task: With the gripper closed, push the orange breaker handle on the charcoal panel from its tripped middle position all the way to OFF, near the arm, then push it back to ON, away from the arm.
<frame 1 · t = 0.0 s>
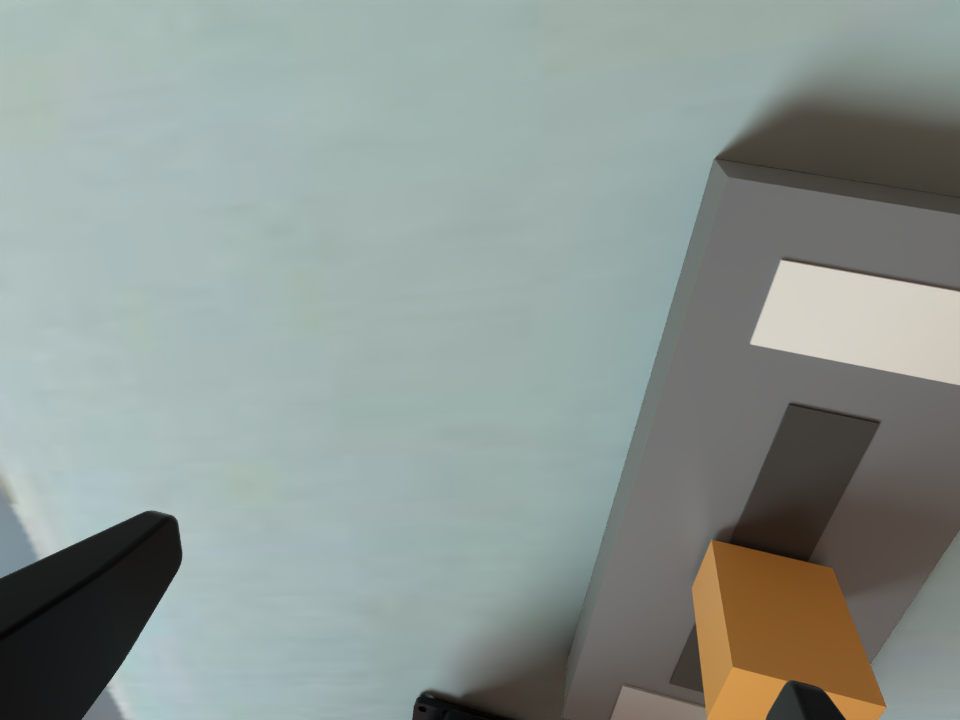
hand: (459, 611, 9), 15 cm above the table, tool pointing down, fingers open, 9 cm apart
breaker handle: (774, 638, 19), point 6 cm above the table, slide at 5.0 cm
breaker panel: (752, 496, 24), on the table
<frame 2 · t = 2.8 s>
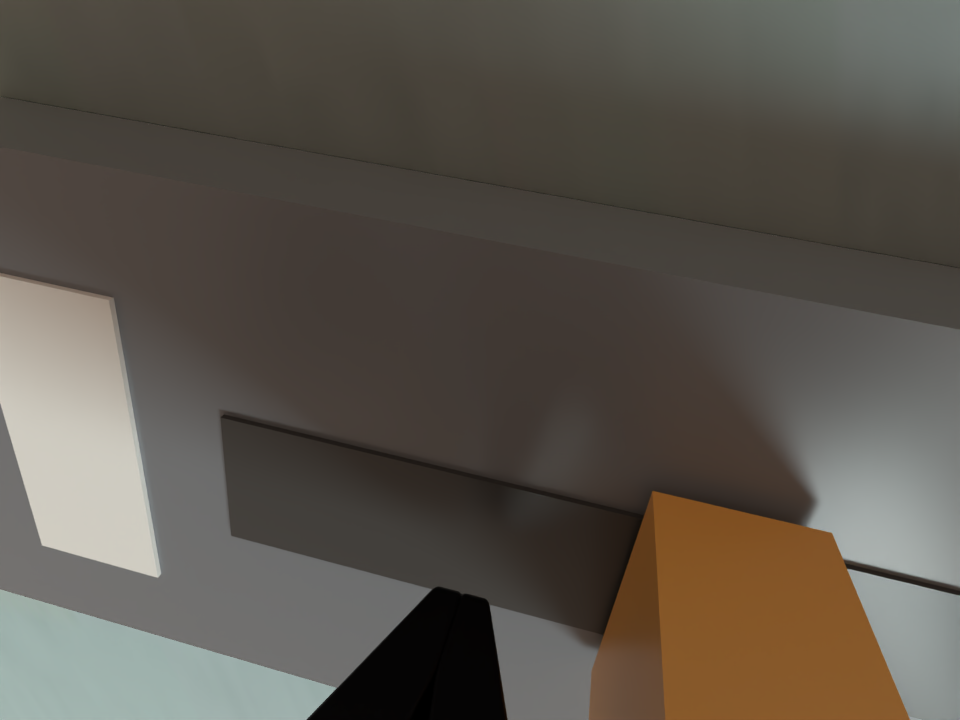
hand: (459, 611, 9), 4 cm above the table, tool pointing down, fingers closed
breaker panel: (574, 452, 13), on the table
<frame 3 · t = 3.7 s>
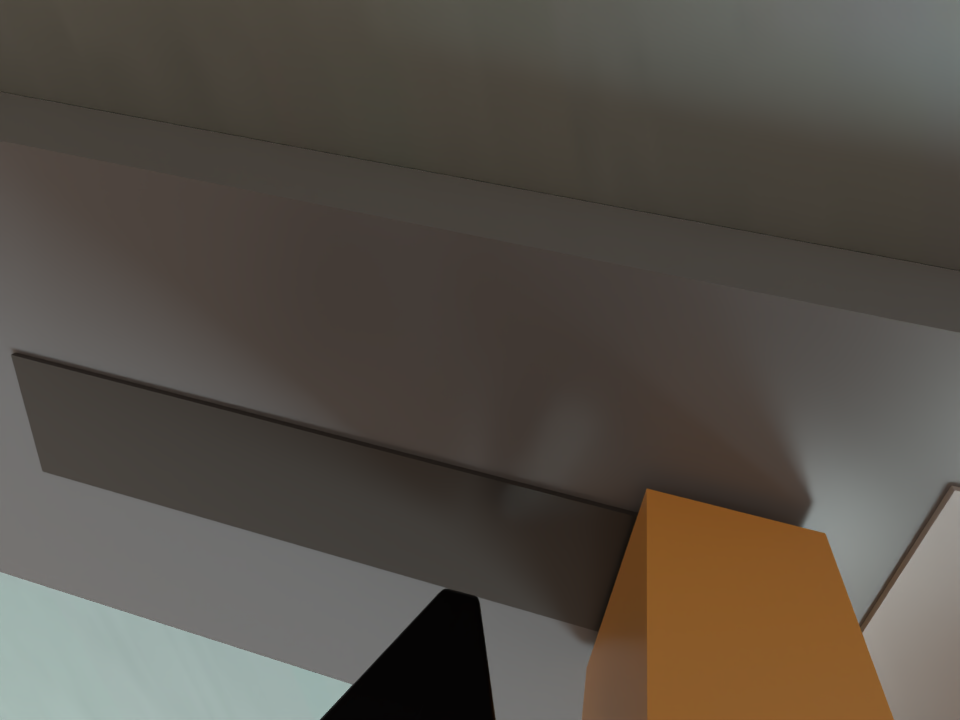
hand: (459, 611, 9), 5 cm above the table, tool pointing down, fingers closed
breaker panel: (385, 404, 13), on the table
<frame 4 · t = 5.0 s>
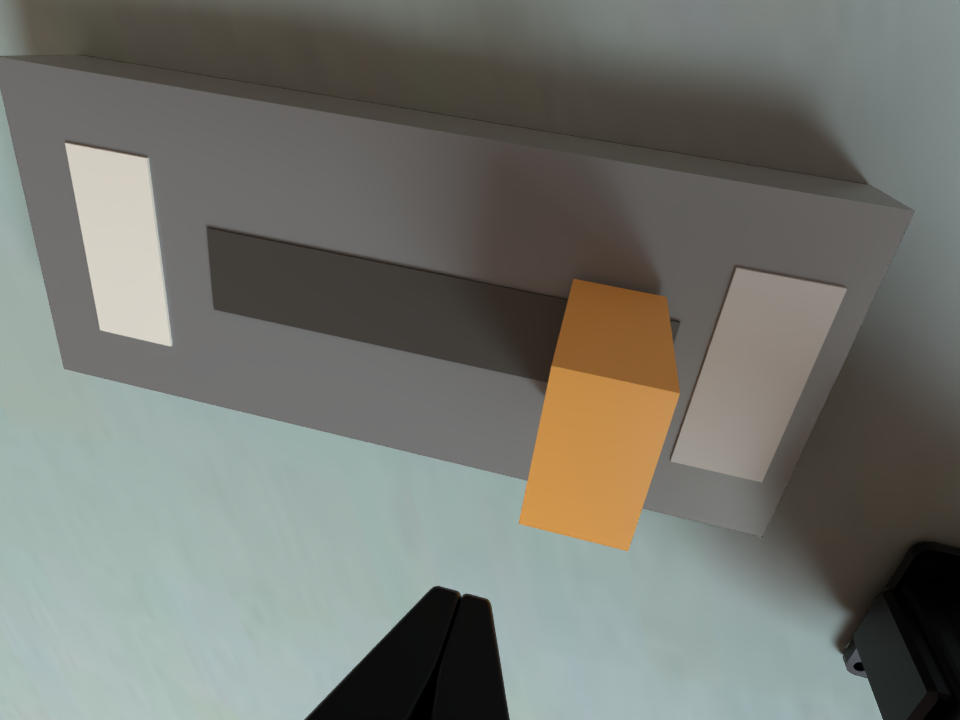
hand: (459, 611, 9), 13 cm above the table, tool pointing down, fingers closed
breaker handle: (598, 401, 15), point 6 cm above the table, slide at -0.1 cm
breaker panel: (425, 274, 20), on the table
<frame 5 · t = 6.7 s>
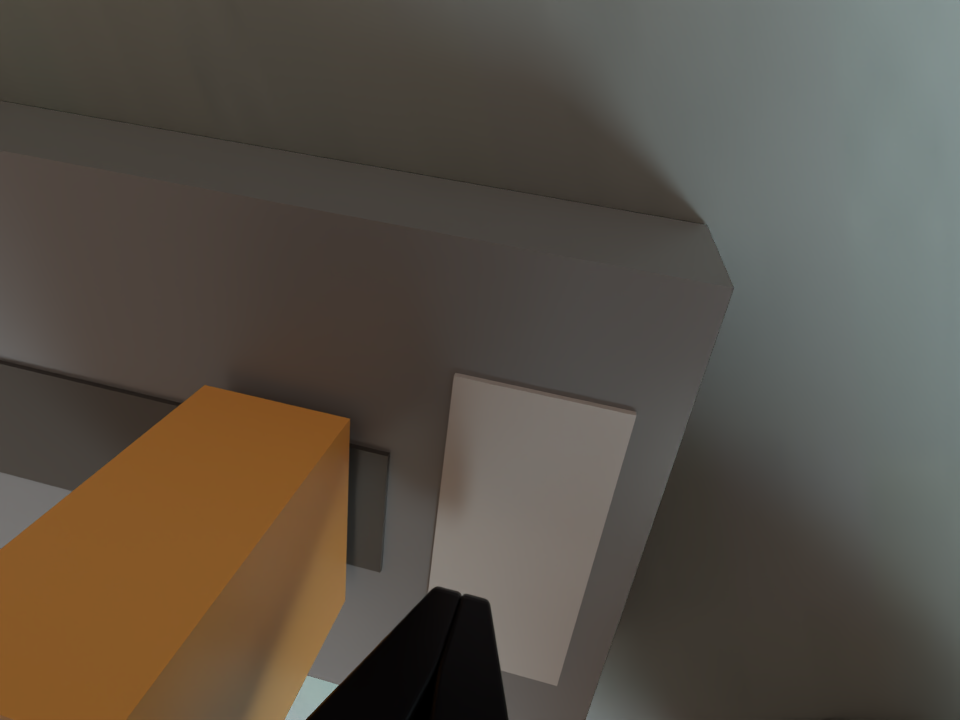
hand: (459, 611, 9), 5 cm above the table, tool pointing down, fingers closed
breaker handle: (188, 621, 8), point 6 cm above the table, slide at 0.0 cm, touching gripper
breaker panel: (105, 344, 14), on the table
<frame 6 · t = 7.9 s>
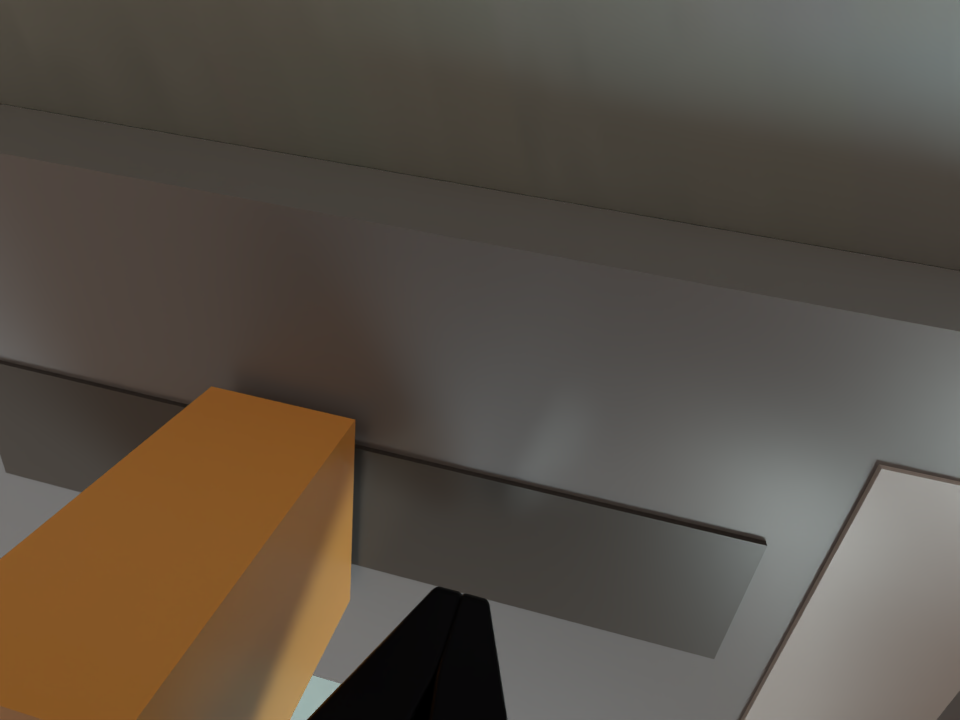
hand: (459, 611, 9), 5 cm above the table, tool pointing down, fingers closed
breaker handle: (196, 620, 8), point 6 cm above the table, slide at 5.8 cm, touching gripper
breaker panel: (349, 400, 13), on the table
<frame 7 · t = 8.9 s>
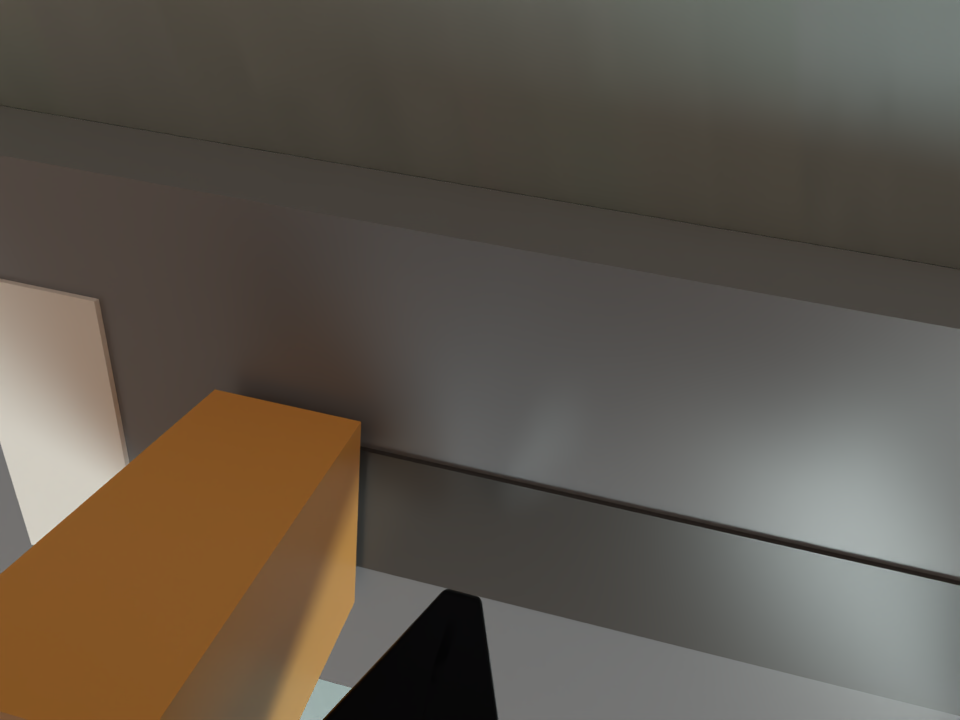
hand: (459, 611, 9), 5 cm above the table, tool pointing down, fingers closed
breaker handle: (203, 625, 8), point 6 cm above the table, slide at 10.2 cm, touching gripper
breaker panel: (554, 446, 13), on the table
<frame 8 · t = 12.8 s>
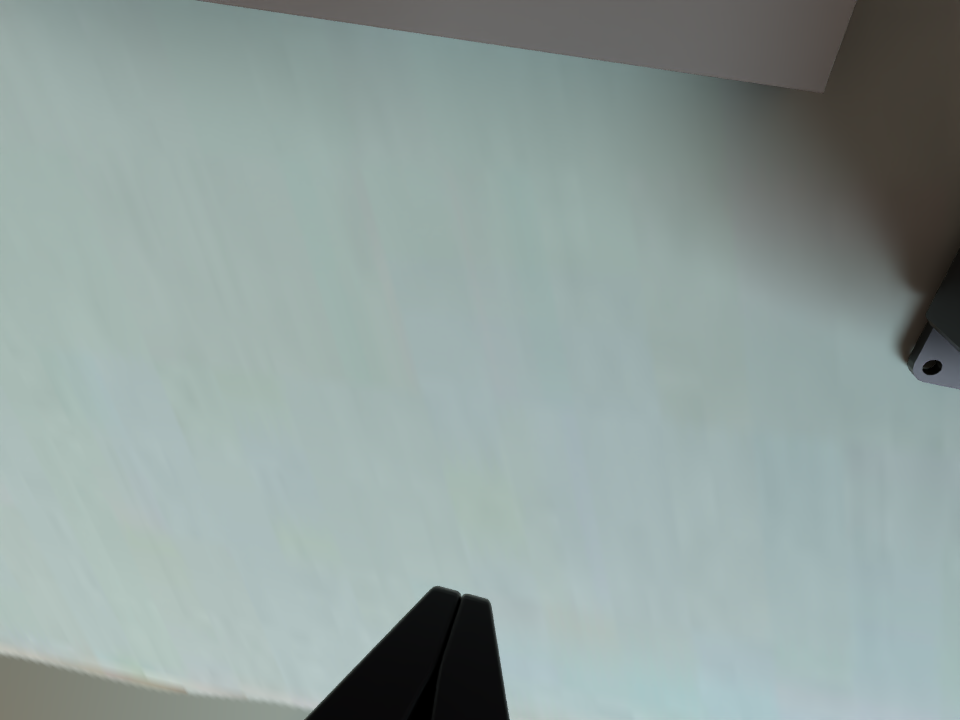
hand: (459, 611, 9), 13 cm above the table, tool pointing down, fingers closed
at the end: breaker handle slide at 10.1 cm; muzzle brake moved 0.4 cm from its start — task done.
